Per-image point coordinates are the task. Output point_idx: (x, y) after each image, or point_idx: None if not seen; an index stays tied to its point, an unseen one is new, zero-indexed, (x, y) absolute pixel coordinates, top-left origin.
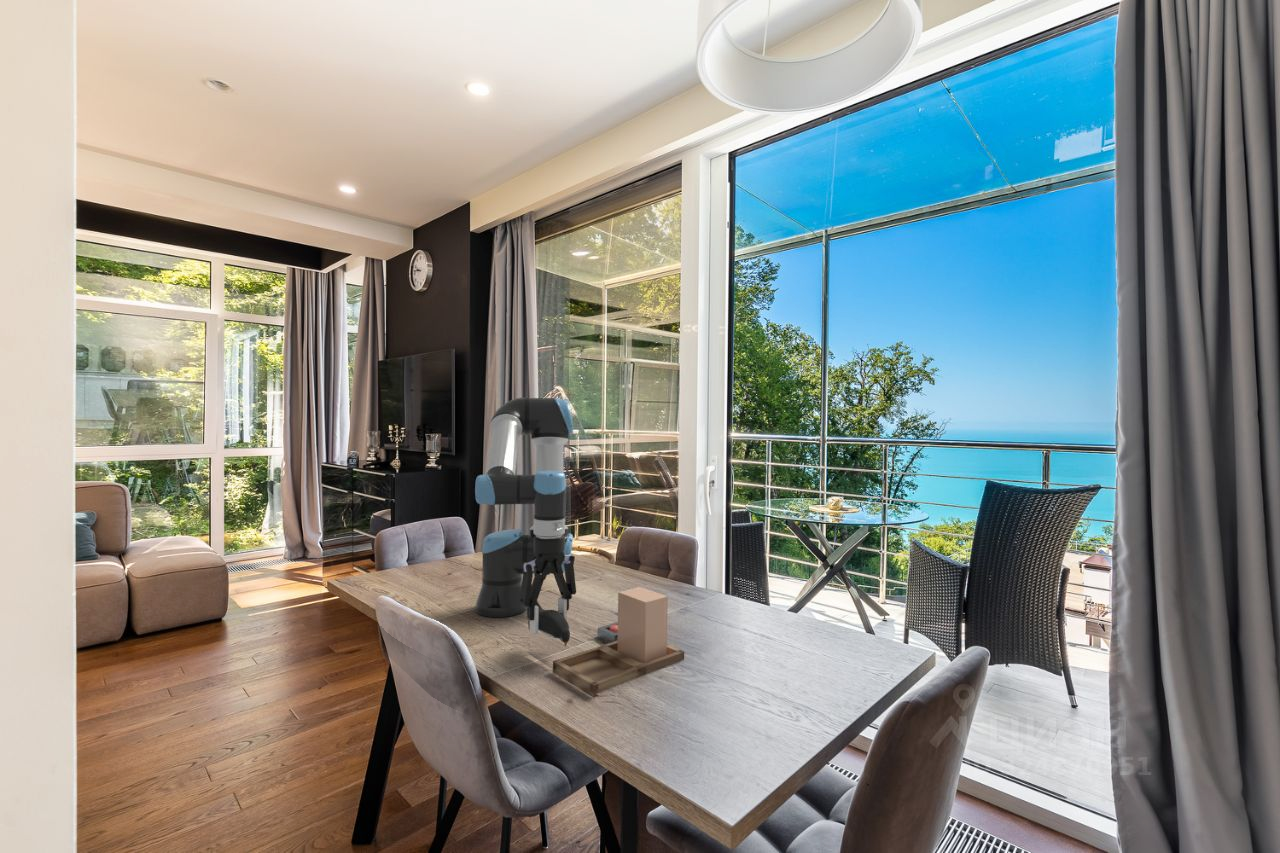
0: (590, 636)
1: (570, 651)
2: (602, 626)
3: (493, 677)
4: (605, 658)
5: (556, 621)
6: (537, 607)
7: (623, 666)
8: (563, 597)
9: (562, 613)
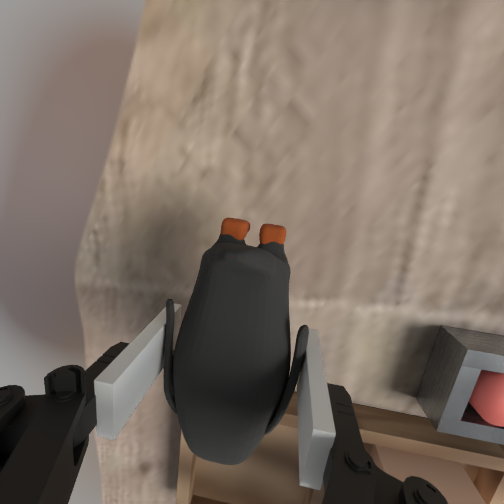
0: (455, 287)
1: (315, 320)
2: (492, 354)
3: (78, 288)
4: None
5: (195, 454)
6: (108, 436)
7: (306, 500)
8: (328, 466)
9: (299, 396)
